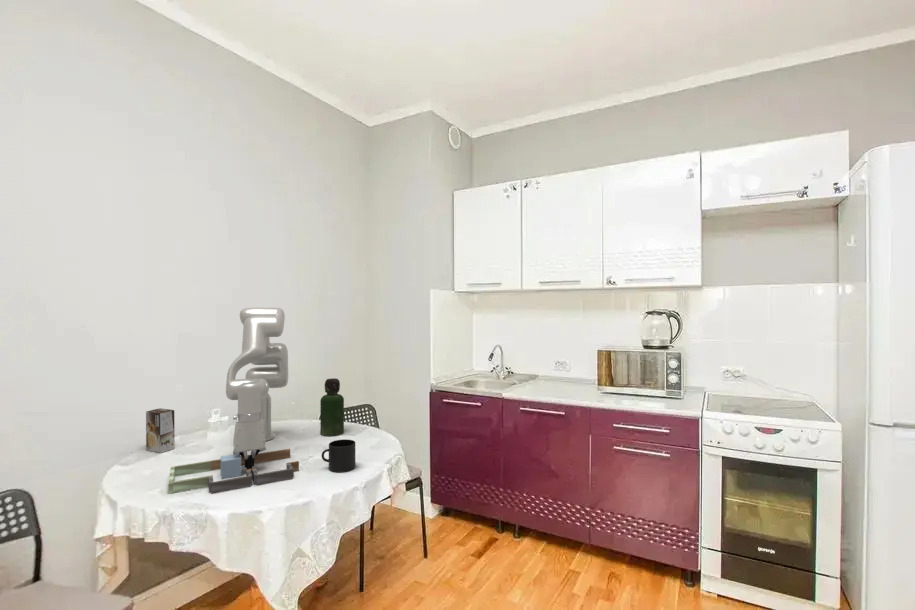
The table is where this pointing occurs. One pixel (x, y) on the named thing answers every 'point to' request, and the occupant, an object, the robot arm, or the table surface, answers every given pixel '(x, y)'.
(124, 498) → the table surface
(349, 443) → the mug
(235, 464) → the block
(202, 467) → the trap box
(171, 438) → the coffee box
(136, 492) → the table surface
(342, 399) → the green bottle
